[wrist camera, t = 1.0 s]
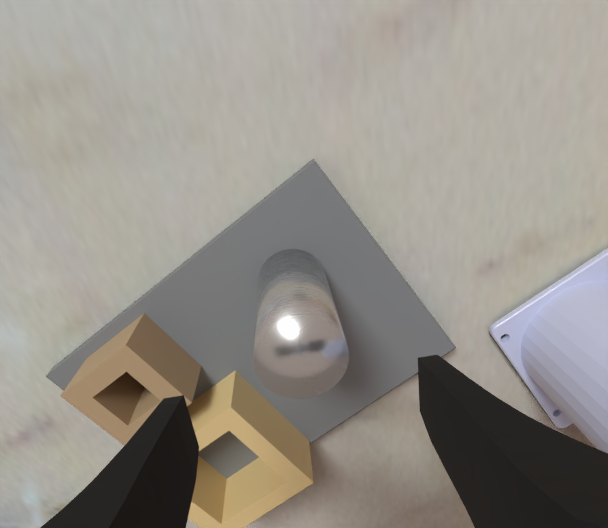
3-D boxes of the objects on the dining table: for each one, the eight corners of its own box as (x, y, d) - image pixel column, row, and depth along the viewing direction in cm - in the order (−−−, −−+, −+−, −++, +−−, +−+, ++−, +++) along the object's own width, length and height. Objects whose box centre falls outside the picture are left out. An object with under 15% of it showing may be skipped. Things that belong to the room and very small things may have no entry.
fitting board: (450, 339, 25) (479, 380, 21) (214, 496, 28) (206, 554, 24) (313, 158, 20) (322, 172, 17) (52, 367, 23) (14, 415, 20)
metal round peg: (338, 284, 22) (367, 363, 16) (287, 322, 23) (293, 413, 16) (297, 235, 21) (310, 298, 14) (244, 276, 21) (233, 355, 15)
